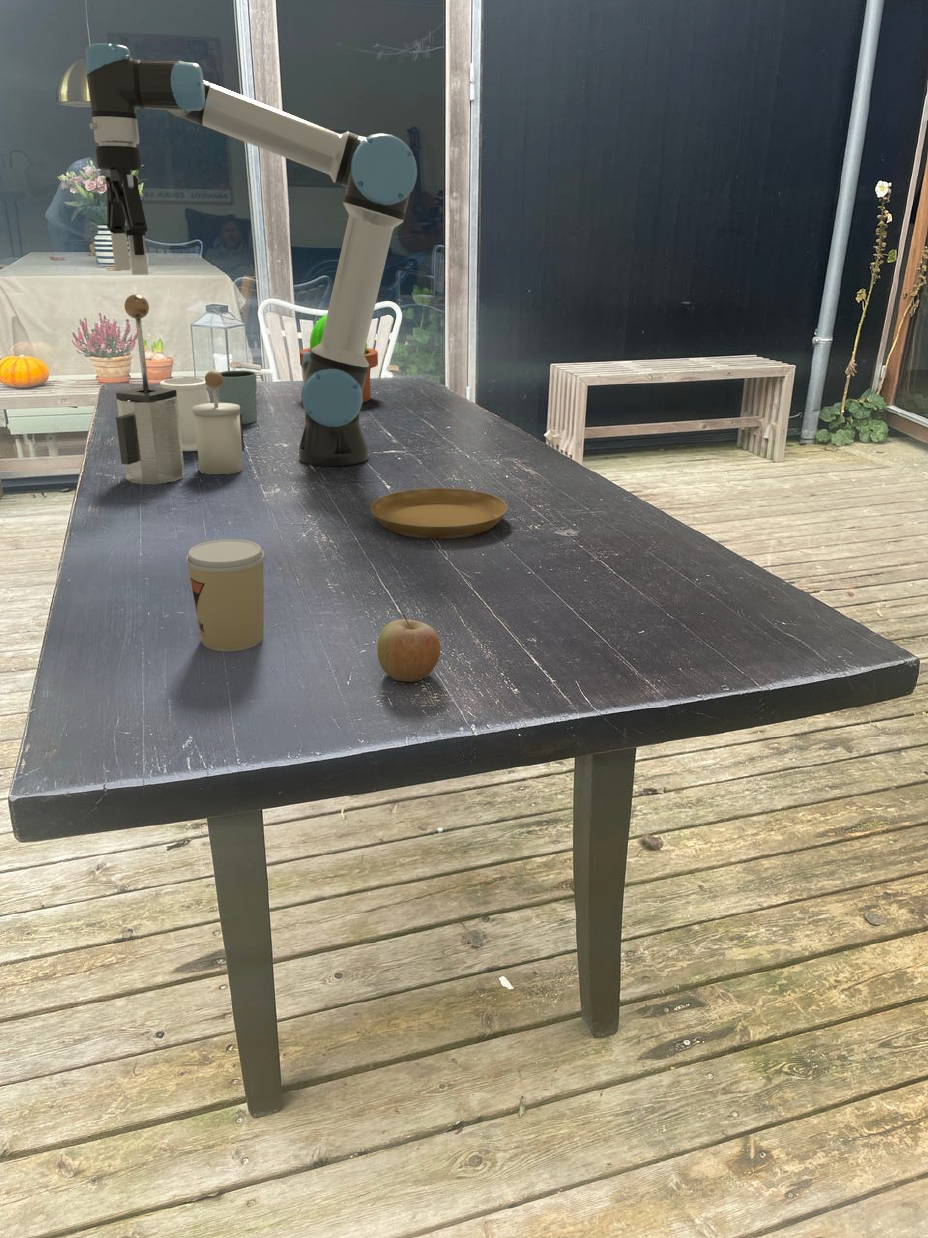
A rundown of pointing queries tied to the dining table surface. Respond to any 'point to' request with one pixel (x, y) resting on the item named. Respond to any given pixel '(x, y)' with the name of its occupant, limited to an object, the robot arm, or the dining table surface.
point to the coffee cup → (228, 593)
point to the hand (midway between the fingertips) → (131, 272)
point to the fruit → (408, 649)
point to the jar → (188, 406)
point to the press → (150, 435)
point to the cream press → (218, 432)
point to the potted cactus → (369, 353)
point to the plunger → (139, 330)
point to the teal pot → (240, 392)
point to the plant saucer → (438, 512)
